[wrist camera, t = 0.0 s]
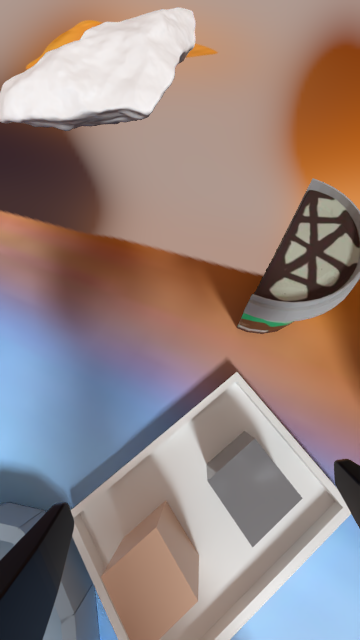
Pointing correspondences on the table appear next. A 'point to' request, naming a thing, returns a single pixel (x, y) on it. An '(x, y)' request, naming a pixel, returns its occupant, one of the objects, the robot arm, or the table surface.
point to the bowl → (76, 585)
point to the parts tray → (211, 512)
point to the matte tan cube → (153, 576)
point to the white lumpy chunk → (102, 73)
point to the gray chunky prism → (251, 487)
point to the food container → (309, 263)
